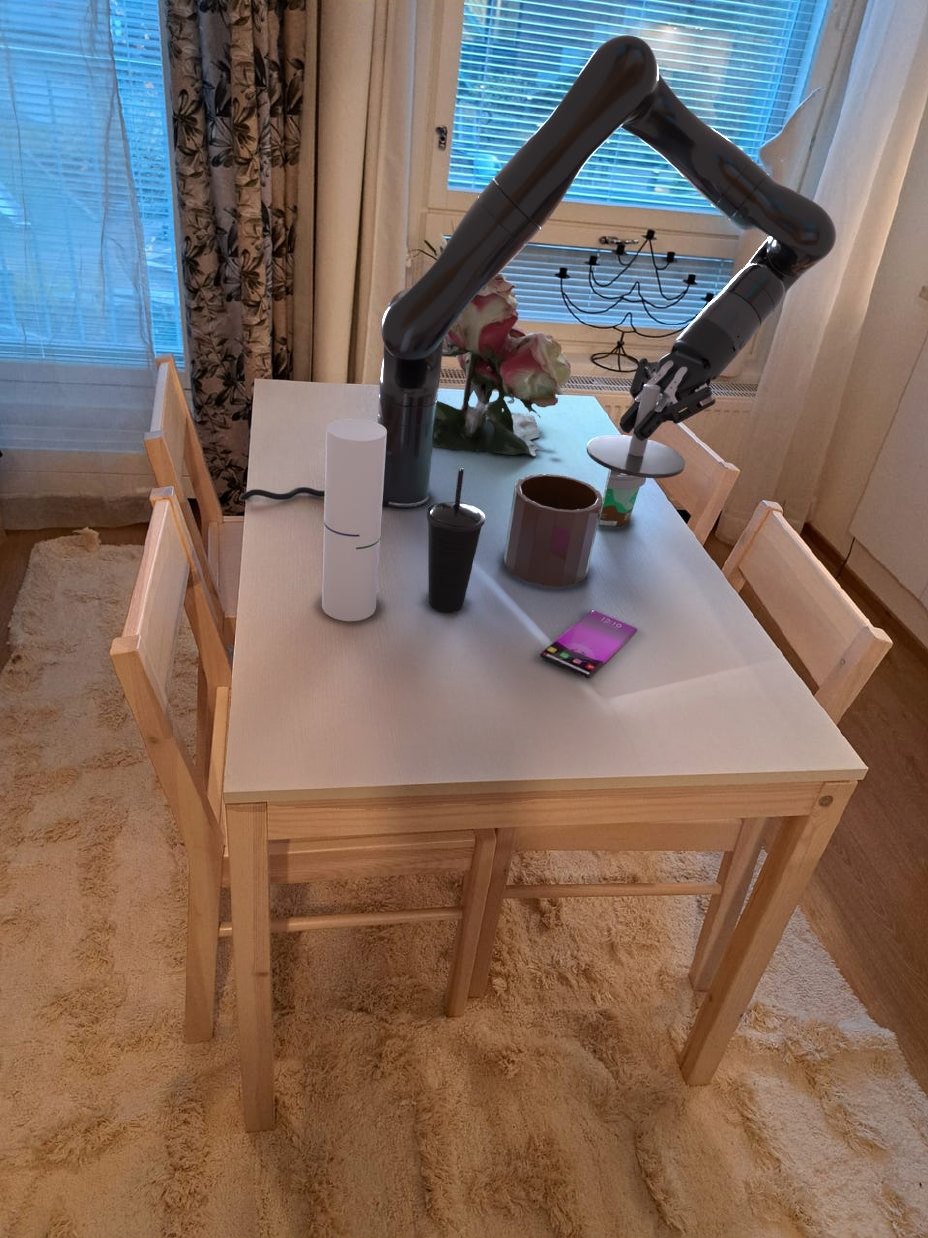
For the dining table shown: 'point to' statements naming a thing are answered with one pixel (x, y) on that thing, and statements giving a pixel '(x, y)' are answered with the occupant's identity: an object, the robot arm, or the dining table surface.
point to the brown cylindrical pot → (552, 529)
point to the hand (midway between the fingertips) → (630, 432)
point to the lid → (637, 448)
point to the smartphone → (589, 643)
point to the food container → (619, 498)
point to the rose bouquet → (499, 375)
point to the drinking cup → (451, 550)
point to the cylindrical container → (352, 517)
